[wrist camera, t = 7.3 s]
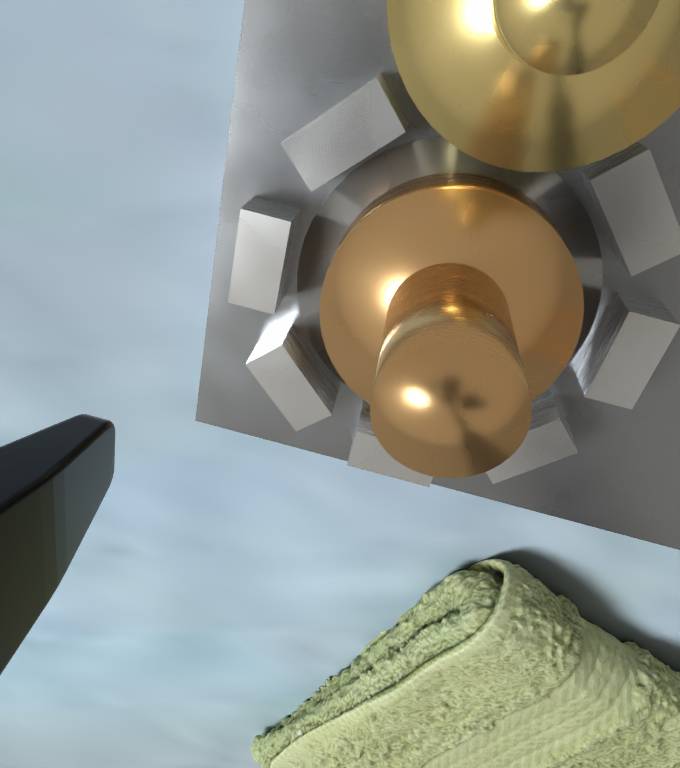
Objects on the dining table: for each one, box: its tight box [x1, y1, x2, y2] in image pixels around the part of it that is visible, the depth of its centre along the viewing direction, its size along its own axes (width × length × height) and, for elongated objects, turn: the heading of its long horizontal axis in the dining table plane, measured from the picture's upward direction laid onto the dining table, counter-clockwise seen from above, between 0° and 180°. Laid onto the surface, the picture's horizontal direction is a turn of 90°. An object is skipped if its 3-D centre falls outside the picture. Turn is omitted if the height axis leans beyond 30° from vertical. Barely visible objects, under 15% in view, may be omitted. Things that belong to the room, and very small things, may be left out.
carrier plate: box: [195, 0, 680, 550], centre depth 14 cm, size 18×16×5 cm
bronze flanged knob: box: [320, 172, 584, 478], centre depth 13 cm, size 6×6×6 cm
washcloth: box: [250, 559, 680, 768], centre depth 25 cm, size 13×18×3 cm
